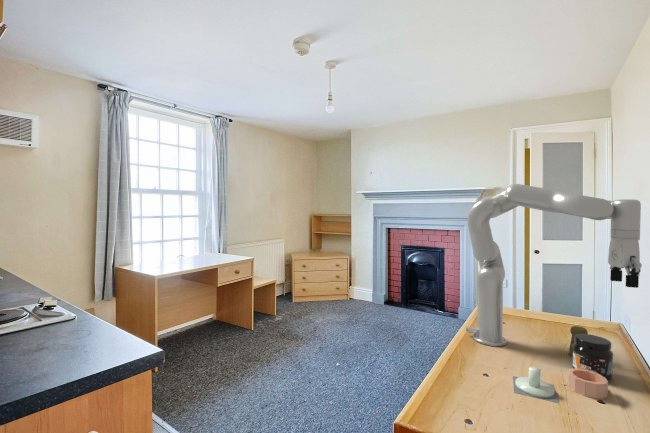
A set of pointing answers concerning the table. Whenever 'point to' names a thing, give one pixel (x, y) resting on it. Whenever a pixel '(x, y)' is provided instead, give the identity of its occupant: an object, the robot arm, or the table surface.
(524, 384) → the lid
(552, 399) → the mat
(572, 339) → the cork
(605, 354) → the supplement container
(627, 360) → the table surface
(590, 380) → the bowl
